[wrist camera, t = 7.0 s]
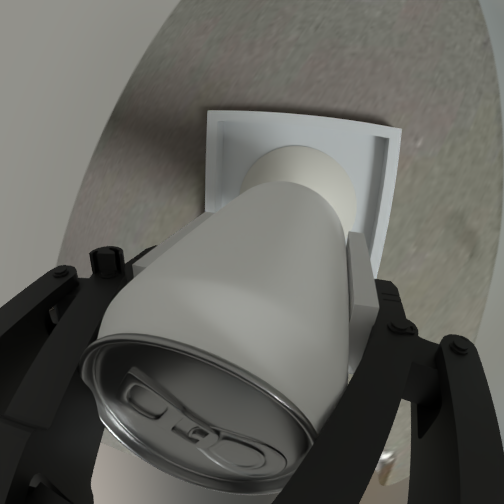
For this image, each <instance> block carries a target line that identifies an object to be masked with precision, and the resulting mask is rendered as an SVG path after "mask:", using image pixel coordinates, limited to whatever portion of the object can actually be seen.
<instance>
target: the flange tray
mask: <svg viewBox="0 0 504 504" xmlns="http://www.w3.org/2000/svg"><path fill="white" fill-rule="evenodd" d="M401 132H402V129H399V128H394V127H388V126H383V125H377V124H371V123H365V122H359V121H352V120H345V119H338V118H330V117H321V116H312V115H302V114H290V113H277V112H259V111H227V110H208V111H207V137H206V176H205V212H211V213H216V212H217V211H219V210H220V209H221V208H223V207H224V206H225V205H227V204H228V203H229V202H231V201H232V200H233V199H235V198H236V197H238V196H239V195H241V194H242V193H244V192H245V191H247V190H248V189H250V188H252V187H254V186H257V185H259V184H263V183H267V182H273V181H287V182H293V183H297V184H300V185H303V186H306V187H308V188H310V189H312V190H314V191H315V192H317V193H318V194H320V195H321V196H322V197H323V198H324V199H325V200H327V201H328V203H329V204H330V205H331V206H332V207H333V209H334V210H335V212H336V213H337V215H338V217H339V219H340V221H341V224H342V227H343V231H344V236H345V243H346V244H347V238H348V232H349V231H352V232H358V233H364V236H365V240H366V244H367V248H368V253H369V257H370V262H371V267H372V271H373V276H374V279H376V278H377V273H378V269H379V265H380V261H381V256H382V252H383V247H384V242H385V238H386V233H387V227H388V222H389V217H390V211H391V206H392V200H393V194H394V187H395V181H396V174H397V167H398V159H399V151H400V142H401Z"/></svg>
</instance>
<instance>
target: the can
mask: <svg viewBox="0 0 504 504" xmlns="http://www.w3.org/2000/svg"><path fill="white" fill-rule="evenodd" d="M348 369H349V295H348V272H347V255H346V243H345V236H344V231H343V227H342V224H341V221H340V219H339V217H338V215H337V213H336V212H335V210H334V209H333V207H332V206H331V205H330V204H329V203H328V201H327V200H325V199H324V198H323V197H322V196H321V195H320V194H318V193H317V192H315V191H314V190H312V189H310V188H308V187H306V186H303V185H300V184H297V183H293V182H287V181H273V182H267V183H263V184H259V185H257V186H254V187H252V188H250V189H248V190H247V191H245V192H244V193H242V194H241V195H239V196H238V197H236V198H235V199H233V200H232V201H231V202H229V203H228V204H227V205H225V206H224V207H223V208H221V209H220V210H219V211H217V212H216V213H215V214H213V215H212V216H211V217H209V218H208V219H207V220H205V221H204V222H203V223H201V224H200V225H199V226H198V227H196V228H195V229H194V230H192V231H191V232H190V233H189V234H187V235H186V236H185V237H183V238H182V239H181V240H180V241H178V242H177V243H176V244H175V245H173V246H172V247H171V248H170V249H168V250H167V251H166V252H165V253H163V254H162V255H161V256H160V257H158V258H157V259H156V260H155V261H154V262H152V263H151V264H150V265H149V266H148V267H146V268H145V269H144V270H143V271H142V272H141V273H139V274H138V275H137V276H136V277H135V278H134V279H133V280H131V281H130V282H129V283H128V284H127V285H126V286H125V287H124V288H123V289H122V290H121V291H120V292H119V293H118V294H117V295H116V297H115V298H114V299H113V300H112V302H111V303H110V304H109V306H108V308H107V310H106V312H105V314H104V317H103V320H102V323H101V326H100V330H99V333H98V338H97V340H96V341H94V342H92V343H91V344H90V345H89V346H88V347H87V348H86V349H85V350H84V352H83V354H82V356H81V358H80V362H79V374H80V376H81V378H82V380H83V381H84V383H85V384H86V385H87V386H88V387H89V388H90V389H91V391H92V392H93V394H94V397H95V400H96V404H97V408H98V413H99V417H100V420H101V422H102V424H103V425H104V426H105V428H106V429H107V430H108V431H109V432H110V433H111V434H112V435H113V436H114V437H115V438H116V439H117V440H118V441H119V442H120V443H122V444H123V445H124V446H125V447H126V448H128V449H129V450H130V451H131V452H133V453H134V454H135V455H137V456H138V457H140V458H141V459H143V460H144V461H146V462H147V463H149V464H151V465H152V466H154V467H156V468H157V469H159V470H161V471H163V472H165V473H167V474H169V475H171V476H173V477H175V478H178V479H180V480H183V481H185V482H188V483H190V484H193V485H196V486H200V487H203V488H206V489H210V490H215V491H219V492H225V493H231V494H240V495H265V494H273V493H279V492H281V491H282V489H283V488H284V487H285V485H286V484H287V482H288V481H289V480H290V478H291V477H292V475H293V474H294V473H295V471H296V470H297V468H298V467H299V465H300V464H301V462H302V461H303V459H304V458H305V456H306V455H307V453H308V452H309V450H310V449H311V447H312V446H313V444H314V442H315V441H316V439H317V438H318V436H319V435H320V433H321V431H322V430H323V428H324V426H325V425H326V423H327V421H328V420H329V418H330V416H331V415H332V413H333V411H334V409H335V408H336V406H337V404H338V402H339V401H340V399H341V397H342V395H343V393H344V392H345V390H346V388H347V385H348Z"/></svg>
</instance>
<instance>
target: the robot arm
mask: <svg viewBox="0 0 504 504" xmlns="http://www.w3.org/2000/svg"><path fill="white" fill-rule="evenodd" d="M213 214H215V213H211V212H204V213H203V214H201V215H200V216H199V217H197V218H196V219H194V220H193V221H191V222H190V223H189V224H187V225H186V226H184V227H183V228H181V229H180V230H179V231H177V232H176V233H174V234H173V235H172V236H170V237H169V238H168V239H166V240H165V241H163V242H162V243H161V244H159V245H158V246H157V245H155V246H153V247H150V248H147V249H145V250H144V251H142V252H141V253H140V254H139V255H137V256H136V257H134V259H131V260H130V261H129V262H127V263H126V264H125V263H124V255H123V250H122V249H121V248H119V247H114V246H107V247H101V248H97V249H95V250H93V251H91V252H90V253H89V255H90V261H91V267H92V272H93V274H92V275H91V277H90V278H78V275H77V271H76V269H75V267H73V266H66V265H63V266H62V265H61V266H58V267H56V268H54V269H52V270H50V271H49V272H47V273H46V274H44V275H43V276H42V277H40V278H39V279H37V280H36V281H35V282H33V283H32V284H31V285H29V286H28V287H27V288H25V289H24V290H23V291H22V292H20V293H19V294H17V295H16V296H15V297H14V298H12V299H11V300H10V301H9V302H7V303H6V304H5V305H3V306H2V307H1V308H0V504H94V501H93V494H92V490H91V477H92V474H93V469H94V465H95V461H96V457H97V453H98V449H99V446H100V442H101V438H102V435H103V431H104V428H105V426H104V425H103V424H102V422H101V420H100V417H99V413H98V408H97V404H96V400H95V397H94V394H93V392H92V391H91V389H90V388H89V387H88V386H87V385H86V384H85V383H84V381H83V380H82V378H81V376H80V374H79V362H80V358H81V356H82V354H83V352H84V350H85V349H86V348H87V347H88V346H89V345H90V344H91V343H92V342H94V341H96V340H97V338H98V333H99V330H100V326H101V323H102V320H103V317H104V314H105V312H106V310H107V308H108V306H109V304H110V303H111V302H112V300H113V299H114V298H115V297H116V295H117V294H118V293H119V292H120V291H121V290H122V289H123V288H124V287H125V286H126V285H127V284H128V283H129V282H130V281H131V280H133V279H134V278H135V277H136V276H137V275H138V274H139V273H141V272H142V271H143V270H144V269H145V268H146V267H148V266H149V265H150V264H151V263H152V262H154V261H155V260H156V259H157V258H158V257H160V256H161V255H162V254H163V253H165V252H166V251H167V250H168V249H170V248H171V247H172V246H173V245H175V244H176V243H177V242H178V241H180V240H181V239H182V238H183V237H185V236H186V235H187V234H189V233H190V232H191V231H192V230H194V229H195V228H196V227H198V226H199V225H200V224H201V223H203V222H204V221H205V220H207V219H208V218H209V217H211V216H212V215H213ZM346 255H347V272H348V295H349V369H348V373H349V374H354V375H353V377H352V378H351V380H350V382H349V384H348V386H347V388H346V390H345V392H344V393H343V395H342V397H341V399H340V401H339V402H338V404H337V406H336V408H335V409H334V411H333V413H332V415H331V416H330V418H329V420H328V421H327V423H326V425H325V426H324V428H323V430H322V431H321V433H320V435H319V436H318V438H317V439H316V441H315V442H314V444H313V446H312V447H311V449H310V450H309V452H308V453H307V455H306V456H305V458H304V459H303V461H302V462H301V464H300V465H299V467H298V468H297V470H296V471H295V473H294V474H293V475H292V477H291V478H290V480H289V481H288V482H287V484H286V485H285V487H284V488H283V489H282V491H281V492H280V493H279V495H278V496H277V497H276V499H275V500H274V501H273V503H272V504H359V502H360V500H361V498H362V496H363V494H364V492H365V490H366V488H367V485H368V484H369V481H370V479H371V477H372V475H373V473H374V470H375V468H376V466H377V463H378V461H379V459H380V456H381V454H382V451H383V449H384V446H385V444H386V441H387V439H388V436H389V433H390V430H391V428H392V425H393V422H394V419H395V416H396V413H397V410H398V407H399V404H400V401H401V399H404V400H407V401H410V402H411V461H410V480H409V493H408V503H407V504H504V452H503V446H502V441H501V436H500V430H499V426H498V421H497V417H496V413H495V409H494V405H493V401H492V397H491V393H490V390H489V386H488V383H487V379H486V376H485V373H484V370H483V367H482V363H481V361H480V357H479V355H478V352H477V349H476V347H475V346H474V344H473V343H472V342H471V341H469V340H468V339H467V338H465V337H463V336H459V335H452V334H449V335H447V336H444V337H443V339H442V340H441V342H440V344H437V343H433V342H430V341H427V340H425V339H423V338H421V337H419V336H418V329H417V327H416V326H415V324H414V323H412V322H411V321H410V320H408V319H406V316H405V312H404V309H403V305H402V303H401V299H400V297H399V292H398V289H397V287H396V286H395V285H394V284H393V283H392V282H391V281H386V280H379V279H374V276H373V271H372V267H371V262H370V257H369V253H368V248H367V244H366V240H365V236H364V233H358V232H352V231H349V232H348V238H347V244H346ZM53 306H54V310H51V311H49V310H50V309H51V308H52V307H53Z"/></svg>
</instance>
